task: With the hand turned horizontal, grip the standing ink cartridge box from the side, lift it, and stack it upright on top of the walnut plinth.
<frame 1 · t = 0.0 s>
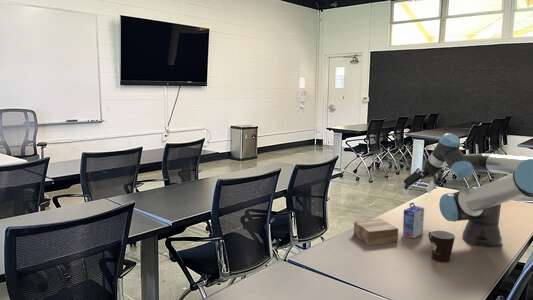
hand: (416, 191, 195), 15 cm above the table, tool tilted 35°, fingers open, 13 cm apart
walnut plinth: (375, 238, 176), on the table
coffee mug: (439, 257, 156), on the table
ink cartridge box: (412, 234, 180), on the table
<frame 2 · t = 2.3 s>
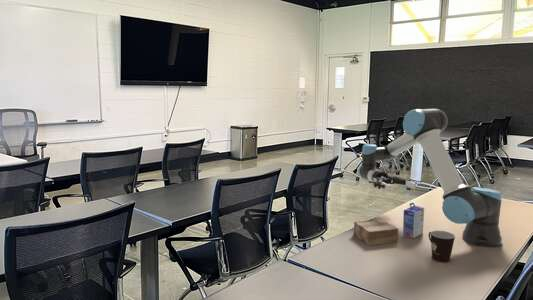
hand: (402, 187, 186), 20 cm above the table, tool horizontal, fingers open, 13 cm apart
nothing on the table moved.
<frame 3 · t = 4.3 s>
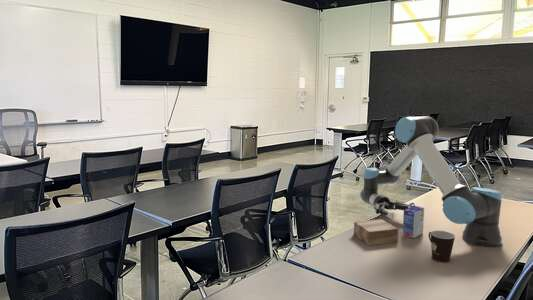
hand: (404, 214, 185), 7 cm above the table, tool horizontal, fingers open, 13 cm apart
nothing on the table moved.
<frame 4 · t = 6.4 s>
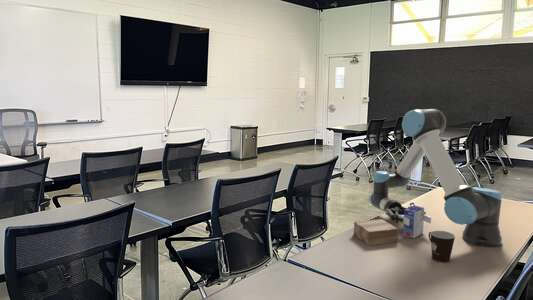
hand: (419, 221, 175), 8 cm above the table, tool horizontal, fingers closed on ink cartridge box, 11 cm apart
ink cartridge box: (412, 234, 180), on the table, touching gripper
everything else where it was.
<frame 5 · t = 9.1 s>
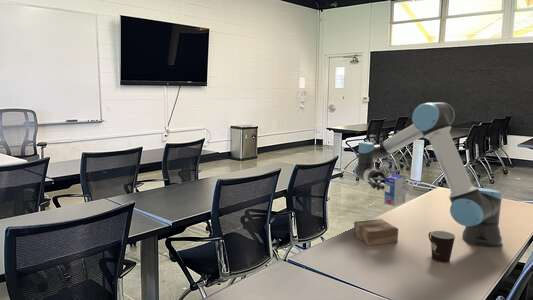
hand: (400, 188, 172), 23 cm above the table, tool horizontal, fingers closed on ink cartridge box, 11 cm apart
ink cartridge box: (394, 203, 177), point 15 cm above the table, touching gripper
everything else where it was.
when the fingers open (15 cm above the table, at t = 11.6 s): ink cartridge box drops 1 cm, resting on walnut plinth.
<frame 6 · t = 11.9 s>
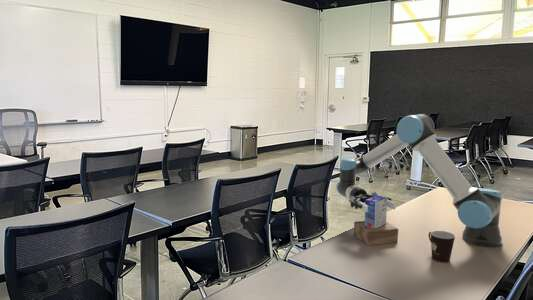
hand: (381, 207, 170), 15 cm above the table, tool horizontal, fingers open, 13 cm apart
ink cartridge box: (375, 225, 175), point 6 cm above the table, touching walnut plinth
everything else where it was.
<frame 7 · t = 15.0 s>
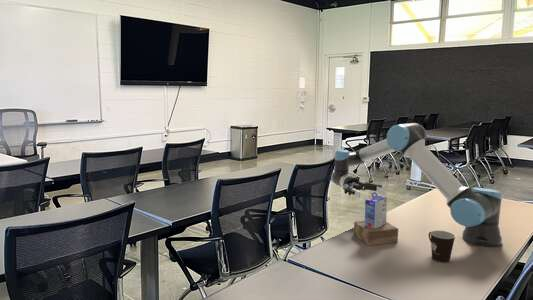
hand: (372, 193, 184), 17 cm above the table, tool horizontal, fingers open, 13 cm apart
nothing on the table moved.
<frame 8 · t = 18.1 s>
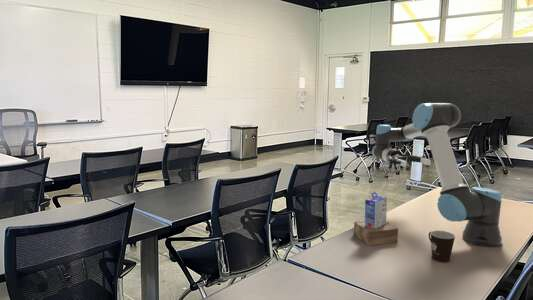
hand: (418, 163, 190), 30 cm above the table, tool horizontal, fingers open, 13 cm apart
nothing on the table moved.
at the end: ink cartridge box inside the target area on the walnut plinth (0.3 cm from its centre), point 5.8 cm above the walnut plinth's base; ink cartridge box tilted 0°; ink cartridge box touching walnut plinth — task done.
